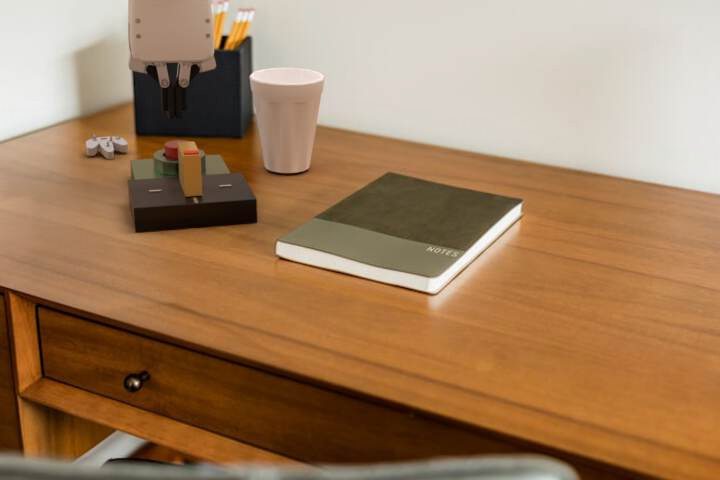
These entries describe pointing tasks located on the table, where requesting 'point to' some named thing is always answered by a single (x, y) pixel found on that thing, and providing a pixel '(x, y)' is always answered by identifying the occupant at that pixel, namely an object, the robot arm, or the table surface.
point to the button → (172, 149)
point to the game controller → (106, 146)
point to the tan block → (190, 169)
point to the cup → (287, 115)
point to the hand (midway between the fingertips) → (174, 116)
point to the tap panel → (191, 203)
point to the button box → (173, 166)
